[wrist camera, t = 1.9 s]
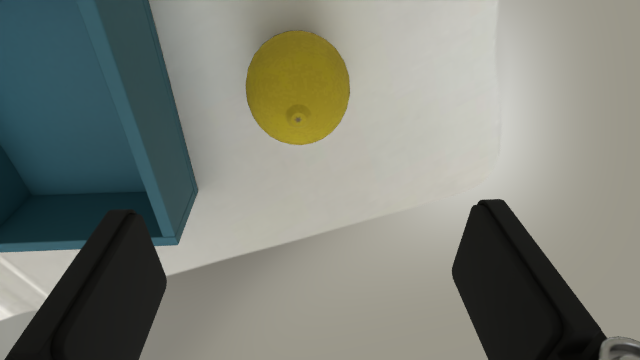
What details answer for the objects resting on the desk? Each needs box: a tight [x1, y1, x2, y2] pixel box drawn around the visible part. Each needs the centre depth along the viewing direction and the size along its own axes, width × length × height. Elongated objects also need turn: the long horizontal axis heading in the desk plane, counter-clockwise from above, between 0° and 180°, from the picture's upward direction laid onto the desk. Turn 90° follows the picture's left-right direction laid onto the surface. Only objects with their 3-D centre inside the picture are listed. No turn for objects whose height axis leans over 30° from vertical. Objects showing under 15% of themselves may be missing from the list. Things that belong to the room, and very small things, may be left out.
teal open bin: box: [0, 0, 198, 252], centre depth 20 cm, size 16×13×6 cm
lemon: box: [246, 31, 350, 145], centre depth 19 cm, size 6×6×8 cm
